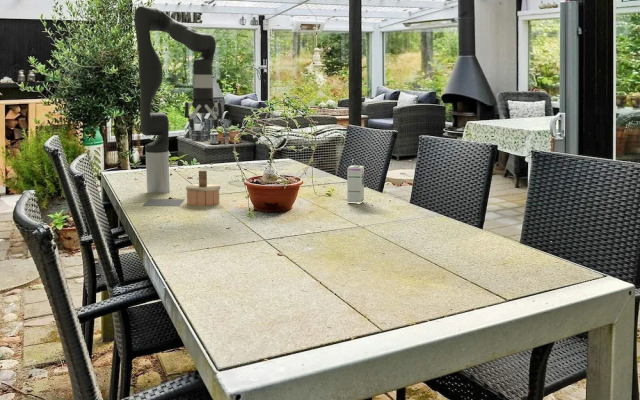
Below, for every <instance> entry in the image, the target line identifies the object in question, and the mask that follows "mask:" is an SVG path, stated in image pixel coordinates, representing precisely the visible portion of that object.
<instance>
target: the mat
mask: <svg viewBox="0 0 640 400" xmlns="http://www.w3.org/2000/svg"><path fill="white" fill-rule="evenodd" d="M185 200H186V199H185V198H149V199H148V200H147V201H145V202H144V203H143V204H142V205H141V207H180V206H181V205H182V204H183V202H185Z"/></svg>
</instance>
